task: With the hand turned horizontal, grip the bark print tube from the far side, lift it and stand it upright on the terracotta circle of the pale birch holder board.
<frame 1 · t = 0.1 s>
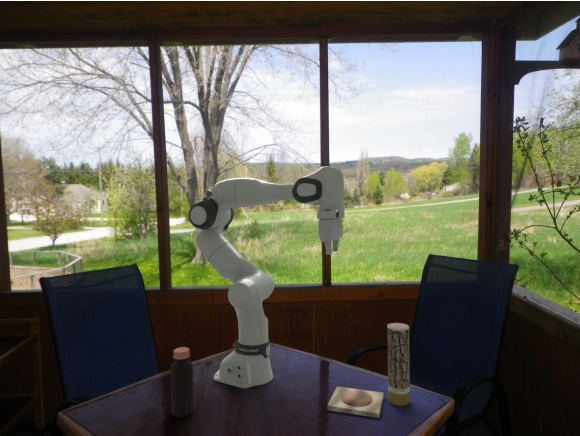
hand: (332, 252, 139), 48 cm above the table, tool pointing down, fingers open, 8 cm apart
holder board: (356, 403, 129), on the table
bottle: (183, 413, 126), on the table
bark print tube: (399, 402, 130), on the table
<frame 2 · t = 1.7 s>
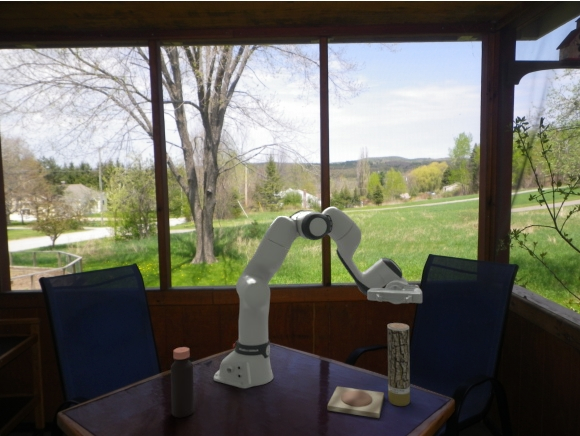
hand: (392, 300, 144), 30 cm above the table, tool horizontal, fingers open, 8 cm apart
nothing on the table moved.
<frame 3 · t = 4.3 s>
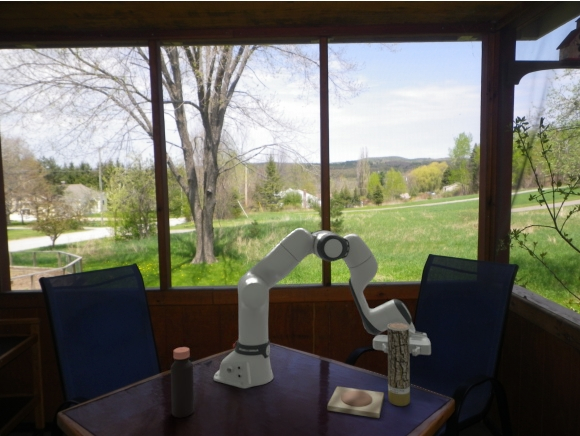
hand: (400, 352, 138), 13 cm above the table, tool horizontal, fingers open, 8 cm apart
nothing on the table moved.
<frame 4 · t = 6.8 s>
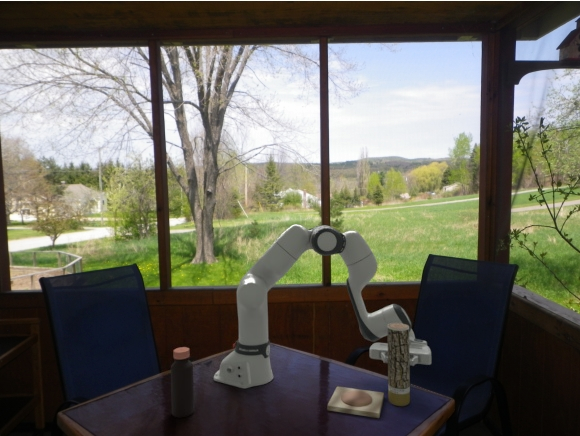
hand: (398, 362, 129), 14 cm above the table, tool horizontal, fingers closed on bark print tube, 7 cm apart
bark print tube: (399, 402, 130), on the table, touching gripper
everything else where it was.
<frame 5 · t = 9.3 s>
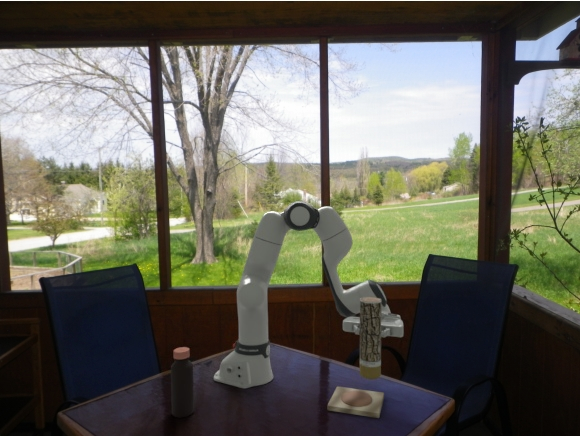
hand: (369, 333, 128), 23 cm above the table, tool horizontal, fingers closed on bark print tube, 7 cm apart
bark print tube: (370, 376, 129), point 9 cm above the table, touching gripper
everything else where it was.
when the fingers open (16 cm above the table, at t = 12.1 s): bark print tube stays where it is, resting on holder board.
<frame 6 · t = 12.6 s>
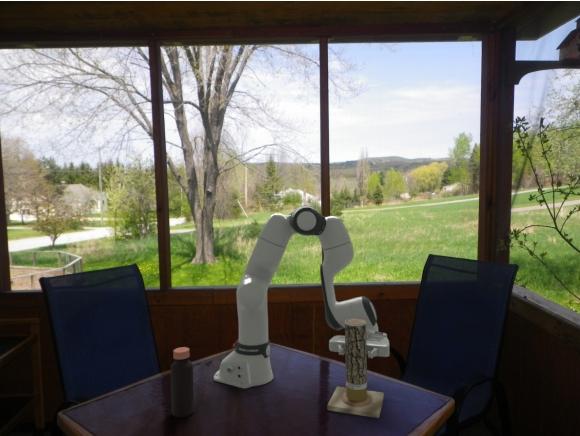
hand: (355, 354, 128), 16 cm above the table, tool horizontal, fingers open, 8 cm apart
bark print tube: (356, 398, 130), point 2 cm above the table, touching holder board
everything else where it was.
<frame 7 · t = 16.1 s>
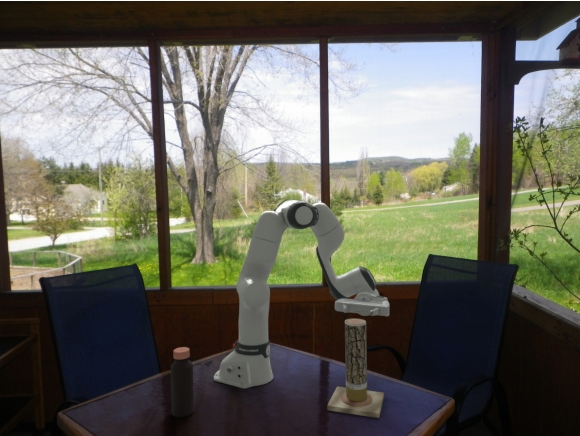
hand: (358, 312, 142), 26 cm above the table, tool horizontal, fingers open, 8 cm apart
nothing on the table moved.
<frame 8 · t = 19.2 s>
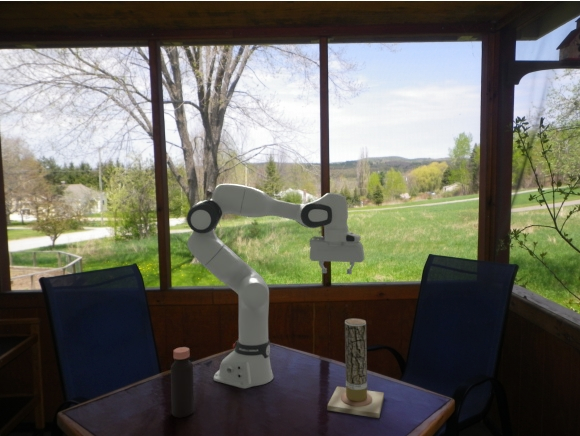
hand: (336, 273, 149), 39 cm above the table, tool pointing down, fingers open, 8 cm apart
nothing on the table moved.
at the end: bark print tube 0.1 cm off-centre on the holder board, point 1.6 cm above the holder board's base; bark print tube tilted 0°; the gripper is holding nothing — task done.
